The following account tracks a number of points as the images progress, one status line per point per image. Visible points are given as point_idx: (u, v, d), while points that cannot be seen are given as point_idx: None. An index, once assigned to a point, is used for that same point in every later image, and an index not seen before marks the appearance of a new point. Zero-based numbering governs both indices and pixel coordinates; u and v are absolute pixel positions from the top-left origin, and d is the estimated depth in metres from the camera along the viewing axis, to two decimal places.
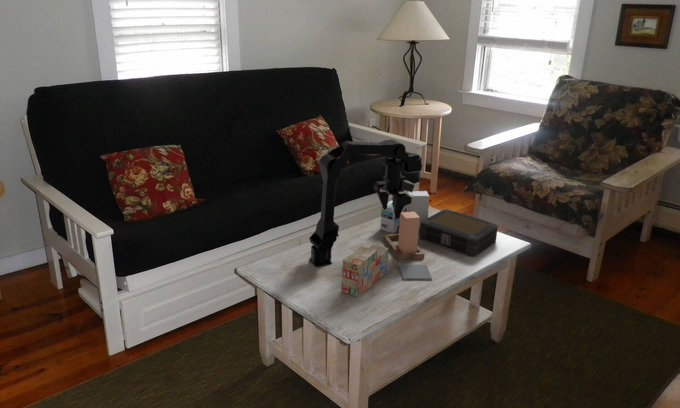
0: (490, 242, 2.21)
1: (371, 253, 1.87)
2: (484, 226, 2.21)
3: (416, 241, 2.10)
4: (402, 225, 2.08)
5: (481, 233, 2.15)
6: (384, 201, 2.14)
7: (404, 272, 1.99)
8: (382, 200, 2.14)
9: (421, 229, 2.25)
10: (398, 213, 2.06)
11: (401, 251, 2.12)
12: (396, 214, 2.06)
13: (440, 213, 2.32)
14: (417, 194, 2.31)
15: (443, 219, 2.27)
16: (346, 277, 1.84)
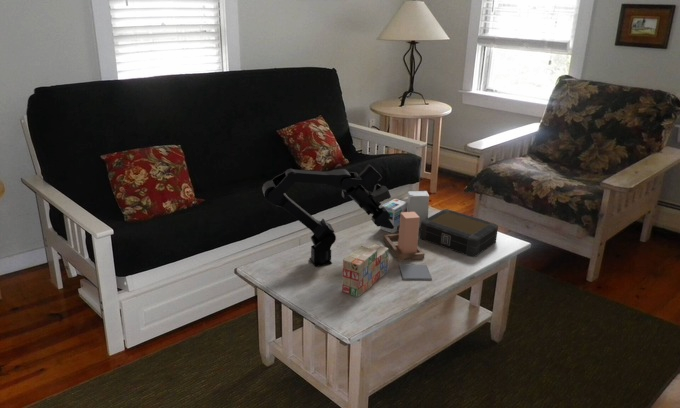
0: (490, 242, 2.21)
1: (371, 253, 1.87)
2: (485, 226, 2.21)
3: (416, 241, 2.10)
4: (402, 225, 2.08)
5: (481, 233, 2.15)
6: None
7: (404, 272, 1.99)
8: None
9: (421, 229, 2.25)
10: (389, 225, 2.01)
11: (401, 251, 2.12)
12: (388, 227, 2.01)
13: (440, 213, 2.32)
14: (417, 194, 2.31)
15: (443, 219, 2.27)
16: (346, 277, 1.84)
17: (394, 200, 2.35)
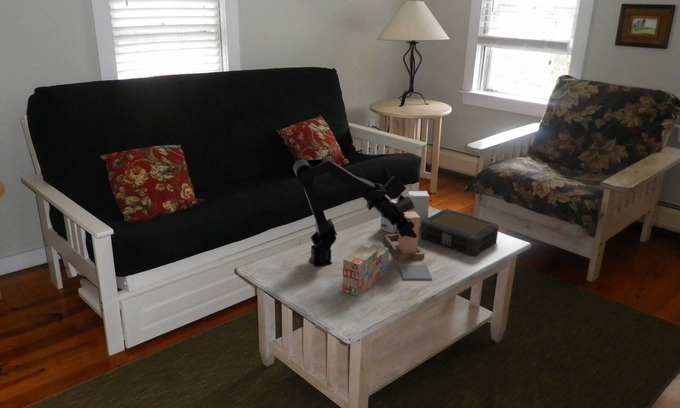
0: (491, 242, 2.21)
1: (372, 252, 1.87)
2: (485, 226, 2.21)
3: (416, 241, 2.10)
4: None
5: (481, 233, 2.15)
6: None
7: (404, 272, 1.99)
8: None
9: (422, 229, 2.25)
10: (412, 234, 2.06)
11: (401, 251, 2.12)
12: (411, 236, 2.06)
13: (441, 213, 2.32)
14: (417, 194, 2.31)
15: (443, 219, 2.27)
16: (346, 277, 1.84)
17: (394, 200, 2.35)
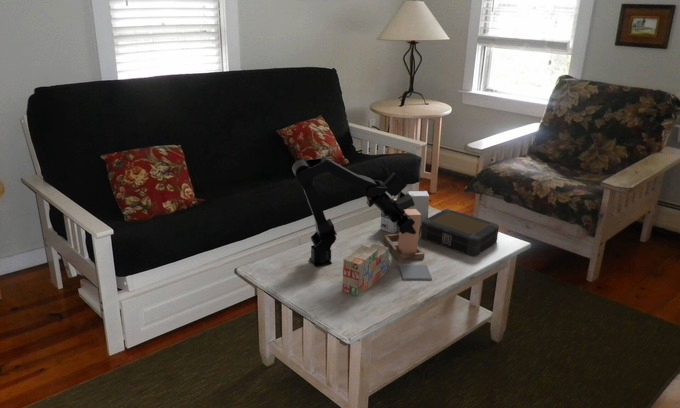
0: (491, 242, 2.21)
1: (372, 252, 1.87)
2: (485, 226, 2.22)
3: (417, 238, 2.09)
4: None
5: (482, 233, 2.15)
6: None
7: (404, 272, 1.99)
8: None
9: (422, 229, 2.25)
10: (412, 230, 2.06)
11: (401, 248, 2.11)
12: (410, 232, 2.06)
13: (441, 213, 2.32)
14: (417, 194, 2.31)
15: (444, 219, 2.27)
16: (346, 277, 1.84)
17: None
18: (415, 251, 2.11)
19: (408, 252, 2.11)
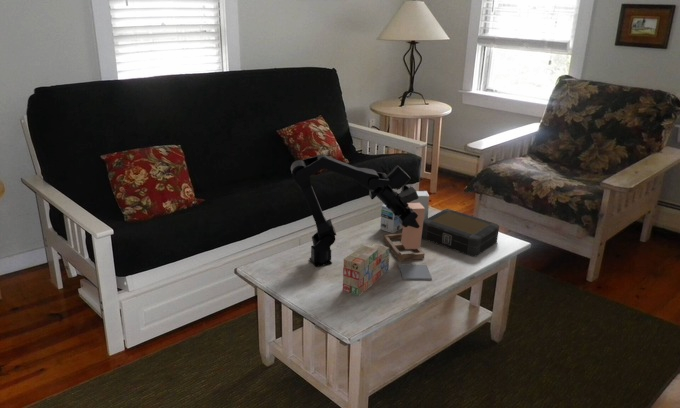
0: (491, 242, 2.21)
1: (372, 252, 1.88)
2: (486, 226, 2.22)
3: (420, 233, 2.05)
4: None
5: (482, 233, 2.15)
6: None
7: (404, 272, 1.99)
8: None
9: (422, 229, 2.25)
10: (415, 224, 2.02)
11: (404, 242, 2.07)
12: (414, 226, 2.03)
13: (441, 213, 2.33)
14: (417, 194, 2.31)
15: (444, 219, 2.27)
16: (346, 276, 1.85)
17: None
18: (418, 246, 2.07)
19: (411, 247, 2.07)
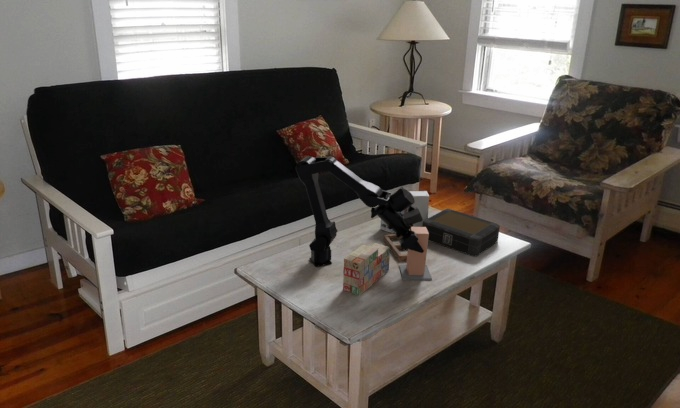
0: (492, 242, 2.21)
1: (372, 252, 1.88)
2: (486, 226, 2.22)
3: (424, 259, 1.95)
4: None
5: (483, 233, 2.15)
6: None
7: (404, 272, 1.99)
8: None
9: None
10: (418, 248, 1.92)
11: (408, 268, 1.98)
12: (417, 250, 1.92)
13: (442, 213, 2.33)
14: (417, 194, 2.31)
15: (445, 218, 2.27)
16: (347, 276, 1.85)
17: None
18: (422, 272, 1.97)
19: (415, 272, 1.97)
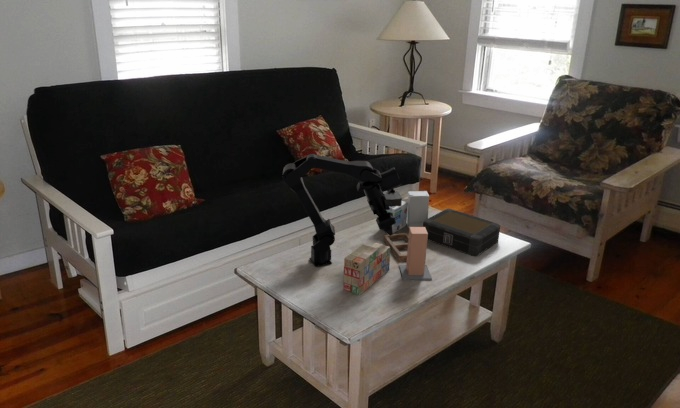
0: (492, 242, 2.21)
1: (372, 251, 1.88)
2: (487, 225, 2.22)
3: (424, 259, 1.95)
4: (409, 240, 1.95)
5: (483, 232, 2.15)
6: (381, 214, 2.08)
7: (404, 272, 1.99)
8: (378, 214, 2.08)
9: None
10: (389, 231, 2.00)
11: (408, 268, 1.98)
12: (388, 232, 2.01)
13: (443, 212, 2.33)
14: (417, 194, 2.31)
15: (445, 218, 2.27)
16: (347, 275, 1.85)
17: None
18: (422, 272, 1.97)
19: (414, 273, 1.97)
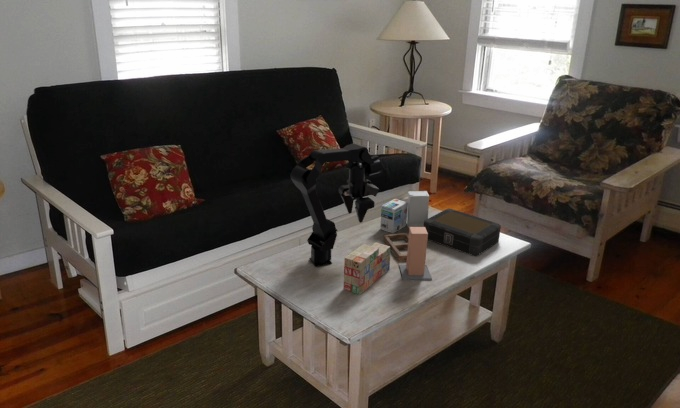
0: (493, 242, 2.21)
1: (373, 251, 1.88)
2: (487, 225, 2.22)
3: (424, 259, 1.95)
4: (409, 240, 1.95)
5: (484, 232, 2.16)
6: (349, 205, 2.14)
7: (404, 272, 1.99)
8: (347, 204, 2.14)
9: None
10: (361, 217, 2.06)
11: (408, 268, 1.98)
12: (359, 218, 2.06)
13: (443, 212, 2.33)
14: (417, 194, 2.31)
15: (446, 218, 2.27)
16: (347, 275, 1.85)
17: (394, 200, 2.35)
18: (422, 272, 1.97)
19: (414, 273, 1.97)
